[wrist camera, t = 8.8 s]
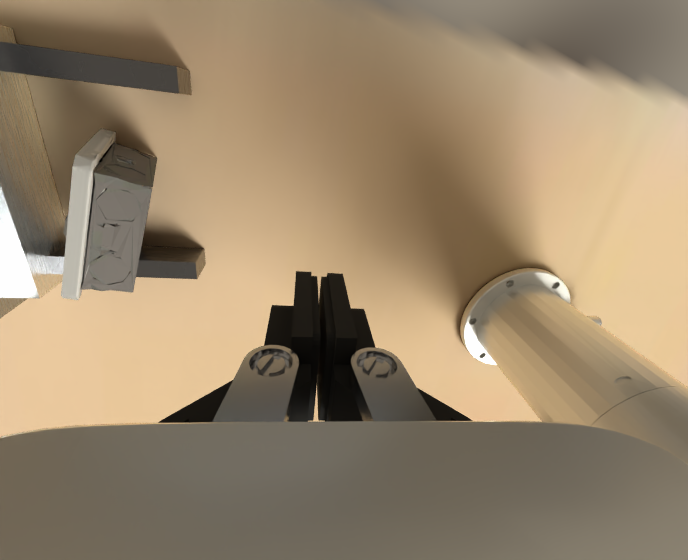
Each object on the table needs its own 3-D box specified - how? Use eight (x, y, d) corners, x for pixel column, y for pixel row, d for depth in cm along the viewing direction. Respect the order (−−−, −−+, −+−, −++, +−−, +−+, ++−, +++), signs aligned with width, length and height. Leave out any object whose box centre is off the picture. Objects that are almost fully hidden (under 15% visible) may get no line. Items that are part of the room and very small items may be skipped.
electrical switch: (103, 124, 24) (30, 141, 16) (180, 152, 26) (148, 179, 18) (90, 238, 28) (25, 296, 20) (158, 255, 30) (124, 314, 22)
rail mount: (186, 36, 22) (59, -51, 10) (207, 283, 31) (151, 399, 19) (-51, -1, 20) (-594, -173, 8) (42, 278, 28) (-147, 407, 16)
